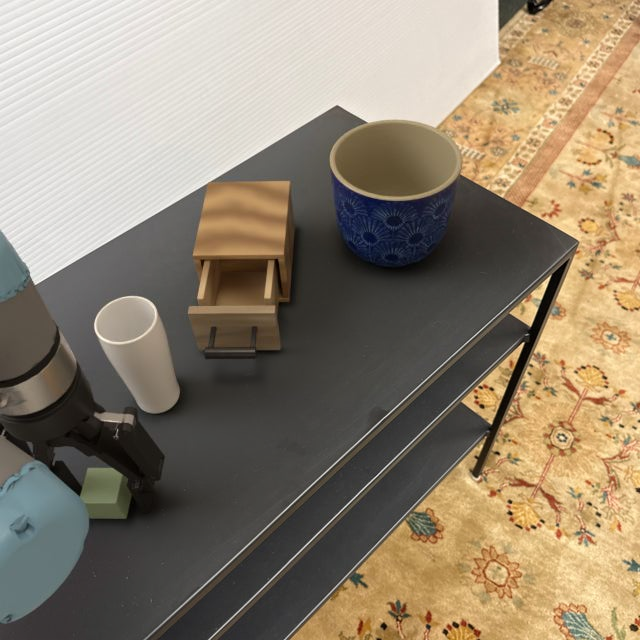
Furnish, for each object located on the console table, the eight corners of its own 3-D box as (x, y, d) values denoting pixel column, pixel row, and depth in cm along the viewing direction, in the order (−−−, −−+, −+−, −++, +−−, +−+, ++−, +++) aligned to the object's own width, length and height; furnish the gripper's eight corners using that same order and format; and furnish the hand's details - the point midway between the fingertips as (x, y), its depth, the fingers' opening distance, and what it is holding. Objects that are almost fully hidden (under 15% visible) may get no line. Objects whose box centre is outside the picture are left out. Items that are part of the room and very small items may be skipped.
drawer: (277, 379, 79) (272, 343, 73) (193, 379, 79) (181, 343, 74) (286, 272, 90) (282, 234, 85) (212, 273, 91) (203, 235, 85)
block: (89, 518, 69) (77, 503, 66) (99, 483, 72) (87, 467, 69) (126, 519, 69) (116, 503, 66) (134, 484, 72) (124, 467, 69)
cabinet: (289, 302, 88) (283, 254, 81) (205, 302, 88) (192, 255, 81) (294, 229, 97) (290, 180, 90) (218, 230, 98) (208, 181, 91)
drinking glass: (133, 377, 81) (96, 298, 69) (187, 371, 81) (159, 291, 70) (129, 424, 77) (89, 348, 65) (186, 417, 77) (156, 340, 65)
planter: (349, 296, 88) (349, 210, 76) (320, 216, 99) (315, 130, 87) (466, 272, 90) (483, 184, 78) (426, 196, 101) (435, 109, 89)
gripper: (-109, 420, 51) (10, 533, 68) (145, 420, 50) (199, 534, 67) (-69, 344, 56) (32, 468, 73) (162, 343, 55) (209, 469, 72)
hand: (112, 500), depth 70 cm, fingers open, 7 cm apart
